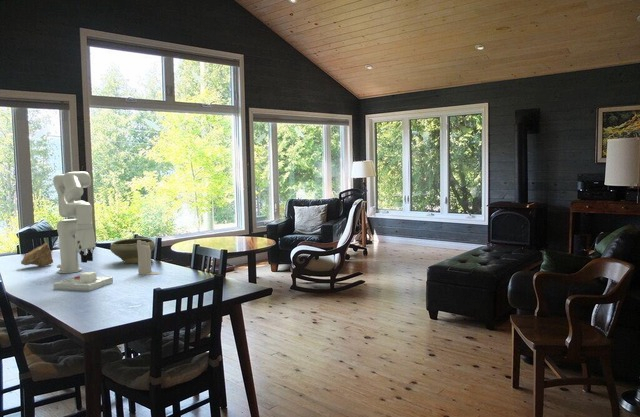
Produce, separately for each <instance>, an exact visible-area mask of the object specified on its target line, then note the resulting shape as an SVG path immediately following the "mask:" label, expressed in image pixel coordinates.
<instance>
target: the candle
mask: <svg viewBox="0 0 640 417" xmlns="http://www.w3.org/2000/svg"><path fill="white" fill-rule="evenodd" d="M137 251H138V262H137V267H138V268H137V269H138V275H141V276H143V275H144V276H145V275H146V276H150V275H151V276H153V275H161V274H162V272H159V271H152V262H151V261H152V260H151V258H152V251H151V250H150V245H149V243H146V241H141V240H137Z"/></svg>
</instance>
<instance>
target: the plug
mask: <svg viewBox="0 0 640 417" xmlns="http://www.w3.org/2000/svg"><path fill="white" fill-rule="evenodd" d="M79 275H80V282H93V281H96V280H97V279H96V277H97V272H96V271H86V272H81V273H79Z"/></svg>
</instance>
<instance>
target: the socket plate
mask: <svg viewBox="0 0 640 417" xmlns="http://www.w3.org/2000/svg"><path fill="white" fill-rule="evenodd" d="M96 279H97V280H96V281H93V282H80V274H79V275H77V276H73V277H70V278H67V279H64V280H60V281H58V282H53V283H52V284H53V285H52V286H53V290H61V291H62V290H63V291H80V292H81V291H83V292H92V291H94V290H97V289H99V288H102V287H105V286H108V285H110V284H113V283H114V280H113V279H114V277H113V276H96Z"/></svg>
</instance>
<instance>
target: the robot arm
mask: <svg viewBox="0 0 640 417" xmlns="http://www.w3.org/2000/svg"><path fill="white" fill-rule="evenodd" d="M52 182H53V187H54V188H55V191H56V194H57V201H58V203H57V204H58V205H57V206H58V213H59V216H60V217H61V218H65V219H62V220H59V221H58V222H57V223H56V230H57V231H56V232H57V234H58V240H59V241H58V242H59V252H60V254H59V255H60V263H59V264H57V265H56V268H57V269H59V270H58V273H59V274H74V273H79V272H82V270H83V268H82V267H80V264H79V255H80V262H81V263H83V264H84V263H86V264H87V263H88V262H93V261H94V256H93V255H94V250H95V249H96V247H97V244H96V236H95V230H94V227H93V226H94V225H93V224H94V222H93V205H92V204H91V203H90V202H89V201H85V200H77V199H79V198H81V197H82V196H83V194H84V188H85V189H87V188H88V187H90V186H91V185H92V178H91V175H90V173H88V172H87V171H70V172H66V173H62V174H61V173H60V174H56V175H55V176H53V180H52ZM68 218H69V219H68ZM74 235H75V238H74Z"/></svg>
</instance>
